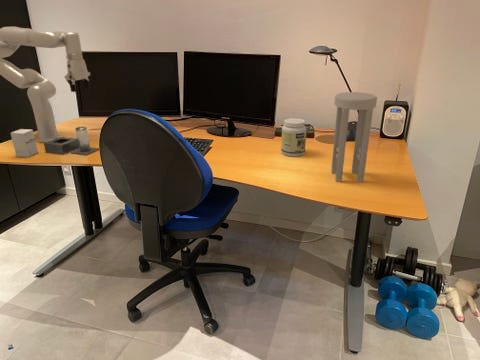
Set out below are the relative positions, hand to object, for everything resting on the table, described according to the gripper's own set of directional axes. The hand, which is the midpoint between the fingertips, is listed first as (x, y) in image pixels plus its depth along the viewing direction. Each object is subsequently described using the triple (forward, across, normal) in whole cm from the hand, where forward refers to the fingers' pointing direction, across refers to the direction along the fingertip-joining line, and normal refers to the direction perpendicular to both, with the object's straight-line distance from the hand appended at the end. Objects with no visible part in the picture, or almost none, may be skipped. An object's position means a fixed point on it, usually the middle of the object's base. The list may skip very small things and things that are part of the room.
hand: (80, 90), depth 204 cm
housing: (+28, -19, 0) cm, 34 cm away
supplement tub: (+27, +18, -116) cm, 120 cm away
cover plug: (+27, -17, -13) cm, 35 cm away
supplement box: (+28, -32, +11) cm, 44 cm away
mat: (+28, -17, -13) cm, 35 cm away
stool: (+27, -3, -145) cm, 148 cm away
